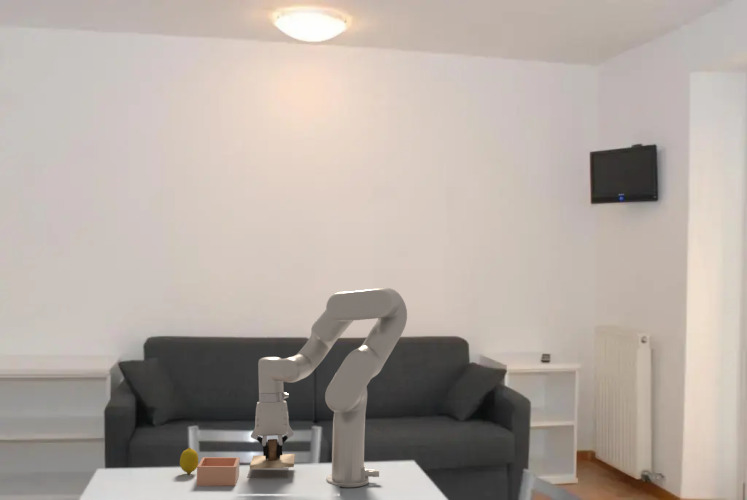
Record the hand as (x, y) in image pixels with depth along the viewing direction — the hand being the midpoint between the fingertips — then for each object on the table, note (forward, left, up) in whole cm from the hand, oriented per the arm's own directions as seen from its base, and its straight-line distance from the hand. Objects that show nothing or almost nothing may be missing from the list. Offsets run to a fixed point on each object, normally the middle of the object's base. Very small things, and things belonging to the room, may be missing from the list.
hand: (272, 457), depth 243 cm
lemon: (+25, 0, -6) cm, 26 cm away
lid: (0, 0, -2) cm, 2 cm away
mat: (+1, 0, -5) cm, 5 cm away
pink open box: (+15, +9, -5) cm, 18 cm away
